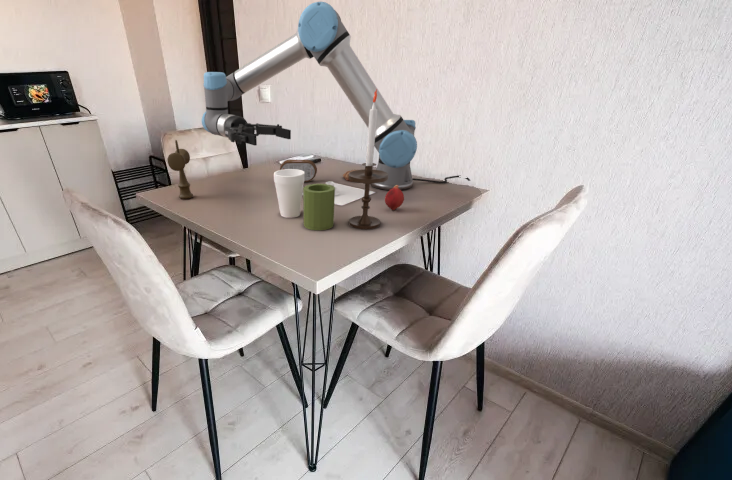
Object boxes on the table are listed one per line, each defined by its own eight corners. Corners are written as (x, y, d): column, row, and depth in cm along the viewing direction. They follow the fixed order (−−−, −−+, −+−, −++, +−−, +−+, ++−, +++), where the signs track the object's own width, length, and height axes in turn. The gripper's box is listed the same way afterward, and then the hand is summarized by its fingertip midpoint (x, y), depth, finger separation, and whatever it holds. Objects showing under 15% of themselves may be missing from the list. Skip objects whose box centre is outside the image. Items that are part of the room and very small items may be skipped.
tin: (316, 180, 153) (317, 158, 148) (316, 182, 150) (316, 160, 146) (280, 180, 154) (279, 159, 150) (279, 182, 152) (278, 161, 147)
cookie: (347, 182, 149) (347, 175, 147) (340, 176, 158) (340, 168, 156) (371, 181, 150) (372, 173, 148) (363, 174, 159) (363, 167, 157)
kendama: (174, 202, 134) (163, 142, 123) (181, 194, 142) (170, 137, 131) (191, 201, 134) (181, 142, 123) (197, 193, 142) (187, 137, 131)
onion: (391, 214, 117) (394, 188, 113) (380, 209, 121) (382, 184, 117) (406, 211, 119) (409, 185, 115) (394, 206, 123) (397, 181, 119)
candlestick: (361, 214, 117) (371, 87, 98) (390, 223, 110) (406, 87, 92) (338, 224, 111) (344, 89, 92) (367, 233, 104) (380, 90, 86)
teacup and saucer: (329, 188, 142) (329, 178, 140) (346, 192, 137) (346, 181, 135) (314, 194, 137) (314, 182, 135) (330, 198, 132) (330, 186, 130)
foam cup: (305, 219, 115) (304, 176, 108) (275, 219, 116) (273, 177, 109) (304, 209, 123) (304, 168, 116) (276, 209, 124) (274, 169, 117)
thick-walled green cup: (334, 220, 114) (335, 183, 108) (332, 231, 107) (333, 192, 101) (306, 219, 115) (305, 183, 110) (301, 229, 108) (301, 192, 102)
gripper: (262, 134, 136) (302, 144, 123) (202, 144, 122) (240, 156, 109) (261, 111, 132) (303, 119, 119) (199, 119, 118) (238, 129, 105)
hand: (273, 137), depth 114 cm, fingers open, 13 cm apart
